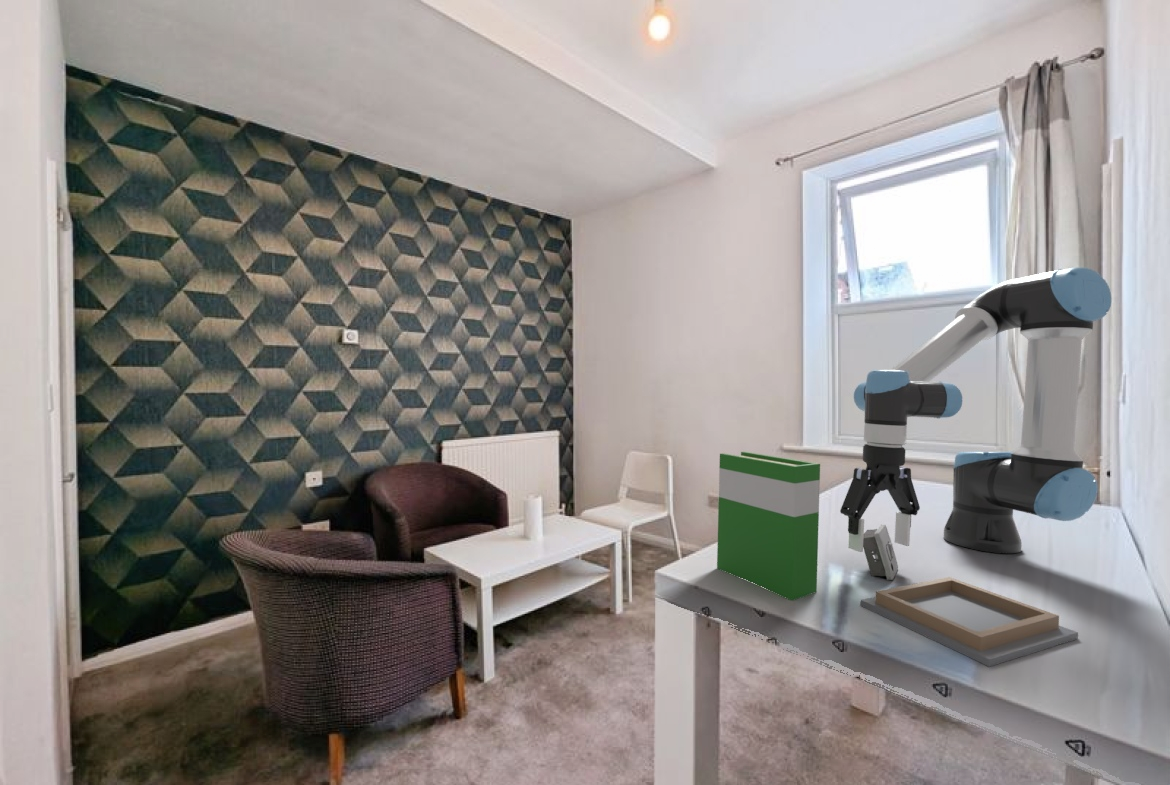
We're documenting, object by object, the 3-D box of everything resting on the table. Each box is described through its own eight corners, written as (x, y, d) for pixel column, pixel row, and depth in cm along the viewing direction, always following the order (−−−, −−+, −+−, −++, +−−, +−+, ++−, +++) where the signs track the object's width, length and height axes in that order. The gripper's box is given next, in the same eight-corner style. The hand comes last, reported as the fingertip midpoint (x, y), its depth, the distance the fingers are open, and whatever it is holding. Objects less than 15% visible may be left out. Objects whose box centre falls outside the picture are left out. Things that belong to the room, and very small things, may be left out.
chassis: (943, 588, 95) (943, 572, 95) (1077, 638, 77) (1078, 619, 77) (860, 605, 87) (861, 588, 87) (989, 666, 69) (989, 645, 68)
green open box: (717, 568, 104) (719, 453, 103) (741, 562, 107) (744, 451, 107) (791, 600, 89) (795, 466, 88) (816, 592, 92) (820, 463, 92)
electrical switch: (892, 582, 98) (888, 534, 98) (863, 578, 101) (859, 532, 102) (898, 569, 105) (895, 525, 106) (871, 565, 108) (867, 522, 109)
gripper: (907, 442, 111) (903, 536, 111) (824, 443, 101) (819, 546, 102) (942, 446, 104) (937, 547, 104) (856, 448, 94) (851, 558, 95)
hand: (879, 547), depth 103 cm, fingers open, 13 cm apart
